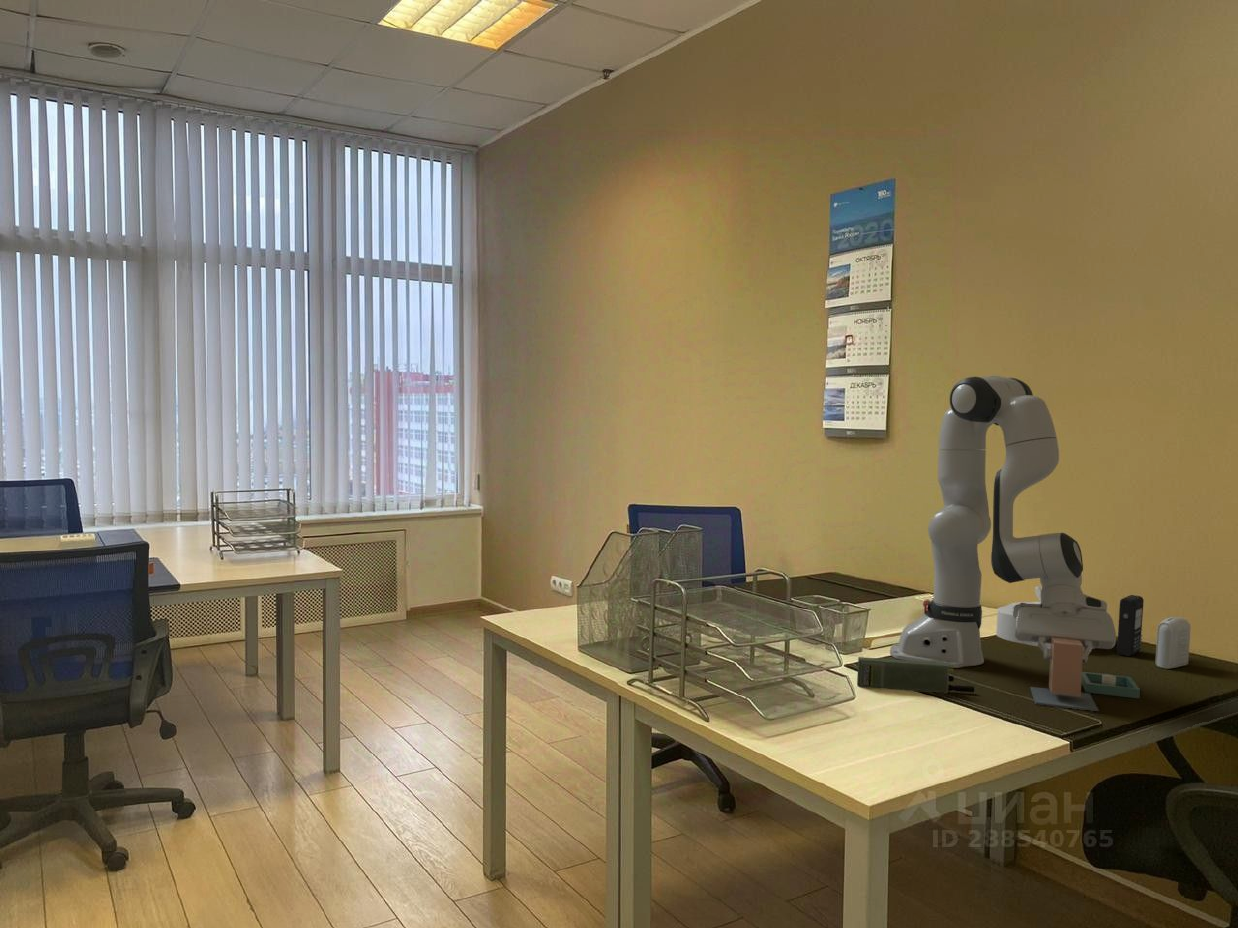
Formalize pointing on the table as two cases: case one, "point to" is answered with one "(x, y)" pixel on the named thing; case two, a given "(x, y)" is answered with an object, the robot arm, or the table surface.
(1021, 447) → the robot arm
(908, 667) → the handheld radio
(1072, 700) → the rubber mat
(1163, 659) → the photo printer
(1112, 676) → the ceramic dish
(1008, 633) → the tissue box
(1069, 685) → the brown tall block
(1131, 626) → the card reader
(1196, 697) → the table surface
